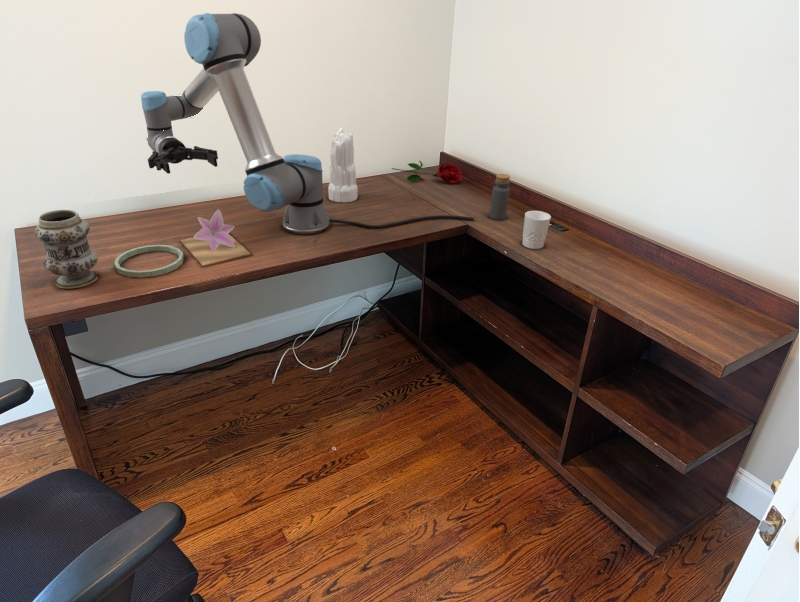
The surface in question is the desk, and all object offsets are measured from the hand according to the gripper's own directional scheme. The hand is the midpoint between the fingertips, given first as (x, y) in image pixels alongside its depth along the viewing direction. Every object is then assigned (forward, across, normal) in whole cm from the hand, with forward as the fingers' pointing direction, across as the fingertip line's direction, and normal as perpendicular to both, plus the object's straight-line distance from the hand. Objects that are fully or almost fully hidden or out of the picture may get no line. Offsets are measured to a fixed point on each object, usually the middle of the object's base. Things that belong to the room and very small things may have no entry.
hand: (192, 165), depth 154 cm
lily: (+10, 0, -22) cm, 24 cm away
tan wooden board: (+10, 0, -23) cm, 25 cm away
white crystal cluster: (-10, -56, -23) cm, 61 cm away
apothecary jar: (+10, +37, -23) cm, 44 cm away
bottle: (+36, -92, -23) cm, 102 cm away
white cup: (+59, -85, -24) cm, 106 cm away
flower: (-9, -96, -23) cm, 99 cm away
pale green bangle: (+10, +18, -23) cm, 31 cm away
